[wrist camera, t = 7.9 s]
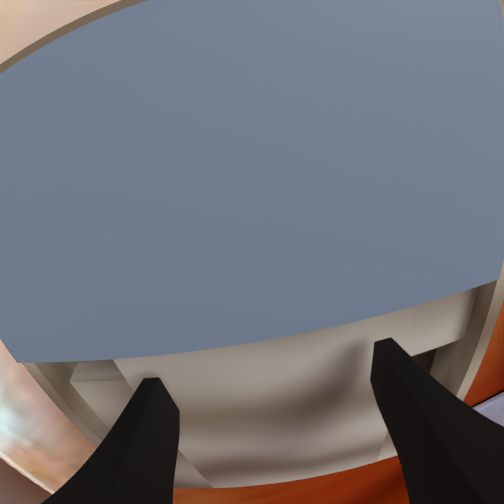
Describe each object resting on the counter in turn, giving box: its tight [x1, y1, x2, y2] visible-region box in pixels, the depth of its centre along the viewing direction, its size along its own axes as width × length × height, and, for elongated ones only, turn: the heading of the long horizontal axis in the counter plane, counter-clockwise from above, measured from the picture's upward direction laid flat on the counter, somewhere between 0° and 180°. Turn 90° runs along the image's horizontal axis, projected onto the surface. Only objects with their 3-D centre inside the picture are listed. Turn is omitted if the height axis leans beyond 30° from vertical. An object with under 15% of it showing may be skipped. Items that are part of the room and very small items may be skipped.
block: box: [0, 0, 504, 363], centre depth 6 cm, size 5×10×4 cm, turn 101°
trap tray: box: [0, 0, 504, 488], centre depth 11 cm, size 24×18×3 cm
